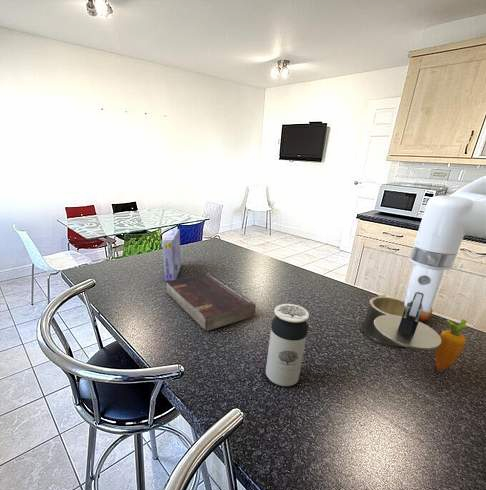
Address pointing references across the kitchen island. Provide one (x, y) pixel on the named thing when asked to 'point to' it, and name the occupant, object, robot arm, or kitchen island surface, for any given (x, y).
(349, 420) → the kitchen island surface
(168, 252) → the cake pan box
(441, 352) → the carrot
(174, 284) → the hardback book
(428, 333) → the pot lid
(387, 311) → the pot
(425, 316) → the fruit
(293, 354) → the travel mug
